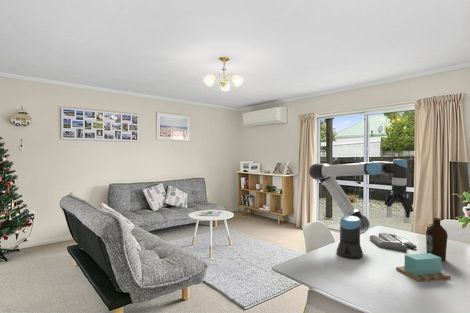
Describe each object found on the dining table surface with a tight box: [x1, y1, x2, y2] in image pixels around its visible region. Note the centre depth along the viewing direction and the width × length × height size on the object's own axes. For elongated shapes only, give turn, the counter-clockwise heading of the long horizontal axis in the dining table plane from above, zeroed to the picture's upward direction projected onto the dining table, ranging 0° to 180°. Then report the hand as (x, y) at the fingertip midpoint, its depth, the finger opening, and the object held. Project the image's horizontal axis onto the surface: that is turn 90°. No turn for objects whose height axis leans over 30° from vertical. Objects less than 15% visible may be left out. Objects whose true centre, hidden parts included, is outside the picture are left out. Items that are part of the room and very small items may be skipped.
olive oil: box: [425, 217, 449, 262], centre depth 165 cm, size 11×11×25 cm
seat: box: [395, 266, 452, 282], centre depth 143 cm, size 20×14×4 cm
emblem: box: [369, 232, 418, 253], centre depth 190 cm, size 28×5×28 cm
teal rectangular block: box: [404, 252, 442, 275], centre depth 143 cm, size 16×7×8 cm, turn 102°
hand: (397, 219), depth 162 cm, fingers open, 13 cm apart
